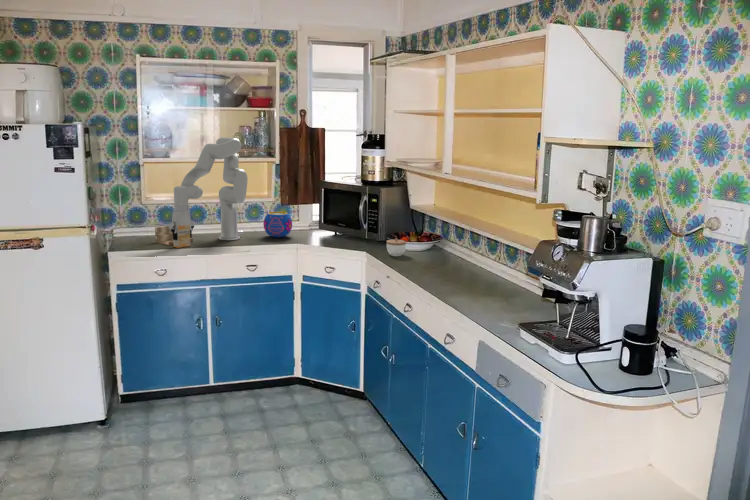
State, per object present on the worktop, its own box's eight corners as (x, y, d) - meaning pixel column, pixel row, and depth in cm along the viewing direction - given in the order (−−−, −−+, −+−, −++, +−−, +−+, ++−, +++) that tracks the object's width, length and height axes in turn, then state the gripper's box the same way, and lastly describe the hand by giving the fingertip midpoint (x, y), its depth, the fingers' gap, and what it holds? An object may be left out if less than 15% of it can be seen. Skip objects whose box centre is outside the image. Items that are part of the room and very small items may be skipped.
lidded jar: (387, 257, 351) (387, 240, 349) (385, 252, 362) (385, 236, 360) (406, 257, 352) (407, 240, 350) (404, 253, 363) (404, 236, 361)
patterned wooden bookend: (178, 238, 384) (178, 223, 382) (192, 241, 377) (192, 226, 375) (155, 242, 372) (154, 227, 370) (169, 245, 364) (169, 230, 362)
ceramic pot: (294, 234, 407) (294, 211, 404) (290, 240, 390) (290, 215, 387) (266, 233, 407) (266, 210, 404) (261, 239, 390) (260, 214, 387)
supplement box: (178, 248, 359) (177, 225, 356) (173, 247, 362) (172, 223, 359) (191, 246, 365) (190, 223, 363) (185, 244, 368) (184, 222, 365)
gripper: (189, 206, 368) (190, 235, 372) (164, 209, 355) (165, 240, 358) (198, 207, 364) (199, 237, 368) (172, 210, 350) (173, 241, 354)
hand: (182, 238), depth 363 cm, fingers open, 9 cm apart
